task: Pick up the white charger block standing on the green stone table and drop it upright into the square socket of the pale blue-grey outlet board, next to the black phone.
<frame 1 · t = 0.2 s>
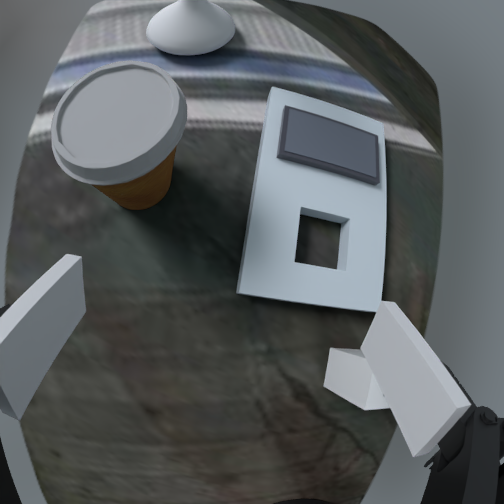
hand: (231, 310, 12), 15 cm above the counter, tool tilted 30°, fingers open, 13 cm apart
disposable coffee cup: (139, 180, 27), on the counter
outlet board: (320, 196, 30), on the counter
phone: (330, 146, 29), resting on outlet board
charger: (344, 367, 28), on the counter
flower in vase: (192, 40, 31), on the counter
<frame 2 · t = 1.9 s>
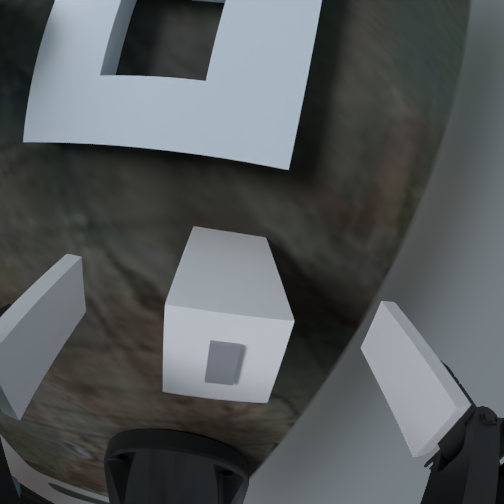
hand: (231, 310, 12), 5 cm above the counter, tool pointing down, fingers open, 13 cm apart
charger: (224, 265, 17), on the counter
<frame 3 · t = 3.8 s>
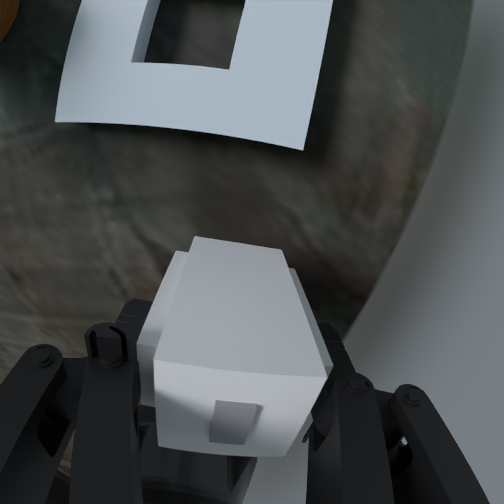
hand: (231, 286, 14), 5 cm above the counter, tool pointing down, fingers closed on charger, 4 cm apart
charger: (231, 281, 14), point 5 cm above the counter, touching gripper
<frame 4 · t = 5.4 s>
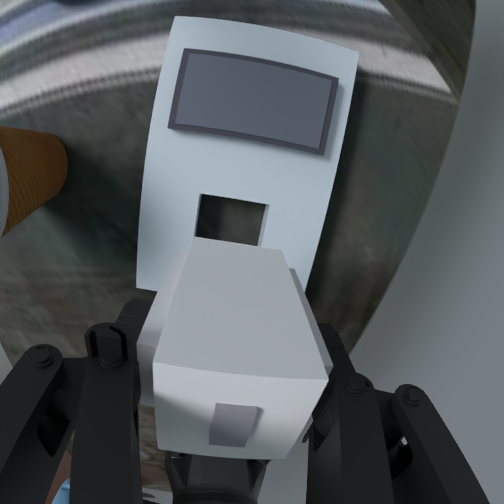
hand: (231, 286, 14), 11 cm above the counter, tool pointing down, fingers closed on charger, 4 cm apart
disposable coffee cup: (42, 166, 22), on the counter
outlet board: (240, 164, 23), on the counter
phone: (254, 99, 19), resting on outlet board
charger: (231, 282, 14), point 11 cm above the counter, touching gripper
when the fingers open (3 cm above the counter, at t = 6.9 s): charger drops 2 cm, resting in outlet board.
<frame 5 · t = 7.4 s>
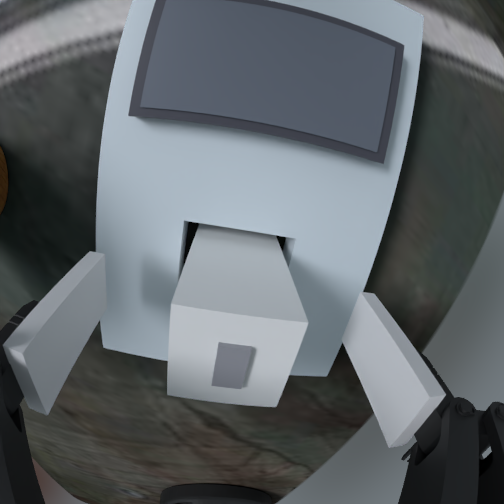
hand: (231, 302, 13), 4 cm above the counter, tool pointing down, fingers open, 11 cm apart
outlet board: (248, 171, 15), on the counter
phone: (272, 68, 11), resting on outlet board
charger: (231, 262, 17), resting in outlet board
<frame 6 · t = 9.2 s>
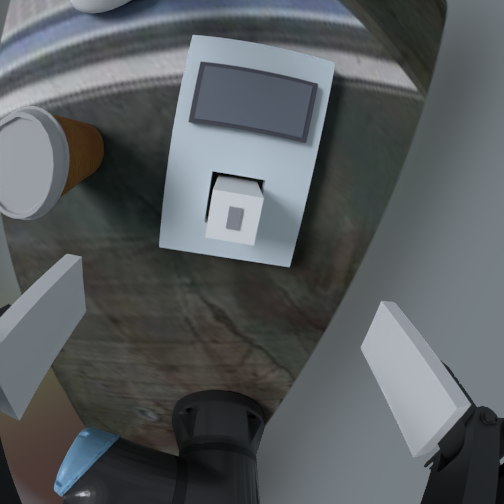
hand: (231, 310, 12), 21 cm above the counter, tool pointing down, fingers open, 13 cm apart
disposable coffee cup: (81, 150, 28), on the counter
outlet board: (243, 150, 29), on the counter
phone: (253, 101, 26), resting on outlet board
charger: (234, 196, 31), resting in outlet board
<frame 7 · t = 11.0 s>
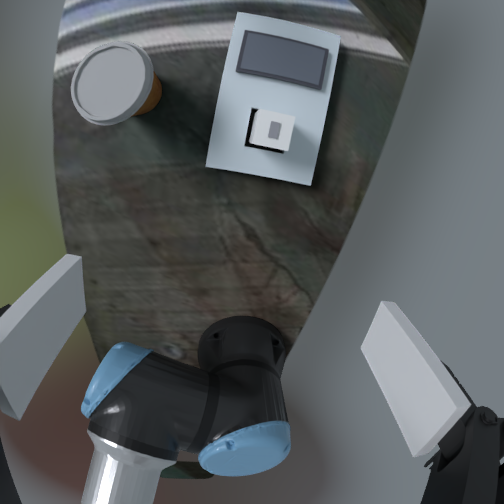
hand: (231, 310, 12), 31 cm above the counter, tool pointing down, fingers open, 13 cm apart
disposable coffee cup: (140, 93, 35), on the counter
outlet board: (273, 95, 36), on the counter
phone: (282, 59, 32), resting on outlet board
charger: (266, 130, 38), resting in outlet board
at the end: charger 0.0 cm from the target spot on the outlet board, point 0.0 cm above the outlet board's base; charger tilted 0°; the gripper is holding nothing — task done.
